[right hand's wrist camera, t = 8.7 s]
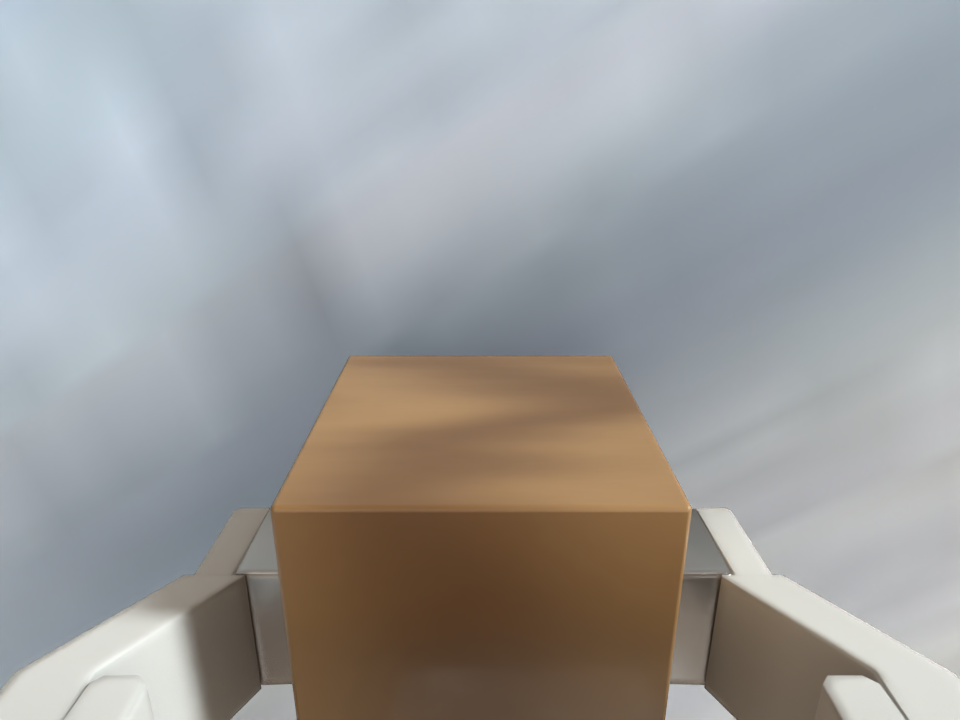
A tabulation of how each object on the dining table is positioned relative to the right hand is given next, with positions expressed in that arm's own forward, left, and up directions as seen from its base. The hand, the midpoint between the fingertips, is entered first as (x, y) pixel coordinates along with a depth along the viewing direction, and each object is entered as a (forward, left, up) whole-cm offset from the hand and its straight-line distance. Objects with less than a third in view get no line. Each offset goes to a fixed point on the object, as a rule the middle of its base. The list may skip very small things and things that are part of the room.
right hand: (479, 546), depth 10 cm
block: (0, 0, -2) cm, 2 cm away
